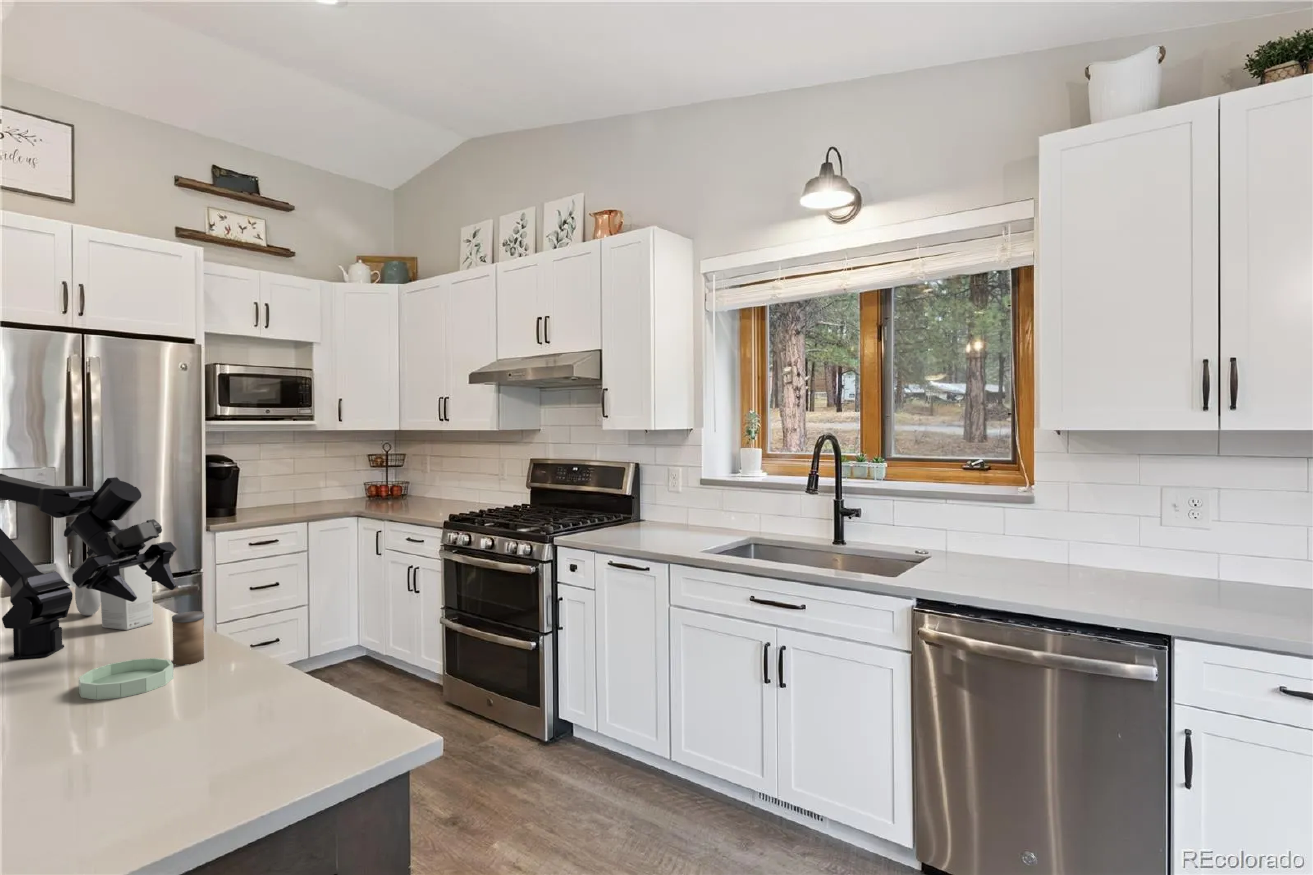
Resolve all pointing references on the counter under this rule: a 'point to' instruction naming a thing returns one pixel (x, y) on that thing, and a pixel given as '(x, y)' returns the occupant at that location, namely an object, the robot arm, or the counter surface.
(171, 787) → the counter surface
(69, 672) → the counter surface
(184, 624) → the walnut spice jar
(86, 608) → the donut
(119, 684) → the sage green dish
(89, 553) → the robot arm
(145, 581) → the skincare box
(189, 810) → the counter surface
